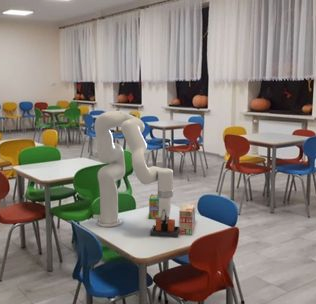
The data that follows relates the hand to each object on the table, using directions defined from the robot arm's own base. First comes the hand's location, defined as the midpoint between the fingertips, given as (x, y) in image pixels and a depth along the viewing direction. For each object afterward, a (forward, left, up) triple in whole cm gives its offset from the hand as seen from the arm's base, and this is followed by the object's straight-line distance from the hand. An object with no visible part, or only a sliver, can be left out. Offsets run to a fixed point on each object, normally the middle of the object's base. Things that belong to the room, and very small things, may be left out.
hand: (165, 228), depth 210 cm
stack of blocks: (+10, +10, -3) cm, 15 cm away
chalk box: (-7, +25, -3) cm, 26 cm away
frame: (0, 0, -2) cm, 2 cm away
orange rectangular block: (0, 0, 0) cm, 0 cm away
